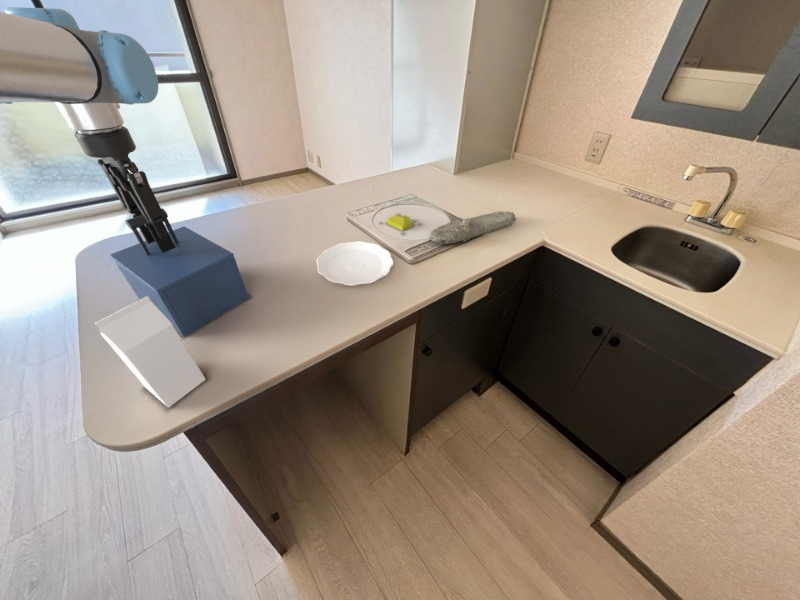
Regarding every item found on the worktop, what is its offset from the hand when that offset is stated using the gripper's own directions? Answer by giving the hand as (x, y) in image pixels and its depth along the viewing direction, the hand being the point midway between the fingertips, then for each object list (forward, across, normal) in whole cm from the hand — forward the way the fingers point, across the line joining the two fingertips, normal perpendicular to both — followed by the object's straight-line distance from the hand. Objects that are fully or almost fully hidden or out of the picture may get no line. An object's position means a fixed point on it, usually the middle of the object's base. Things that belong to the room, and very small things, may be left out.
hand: (161, 245), depth 71 cm
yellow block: (+14, -21, -62) cm, 67 cm away
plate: (+14, -25, -34) cm, 45 cm away
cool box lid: (+2, -4, 0) cm, 4 cm away
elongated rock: (+14, -43, -73) cm, 86 cm away
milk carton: (+14, -24, +15) cm, 32 cm away
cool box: (+14, -4, 0) cm, 14 cm away
